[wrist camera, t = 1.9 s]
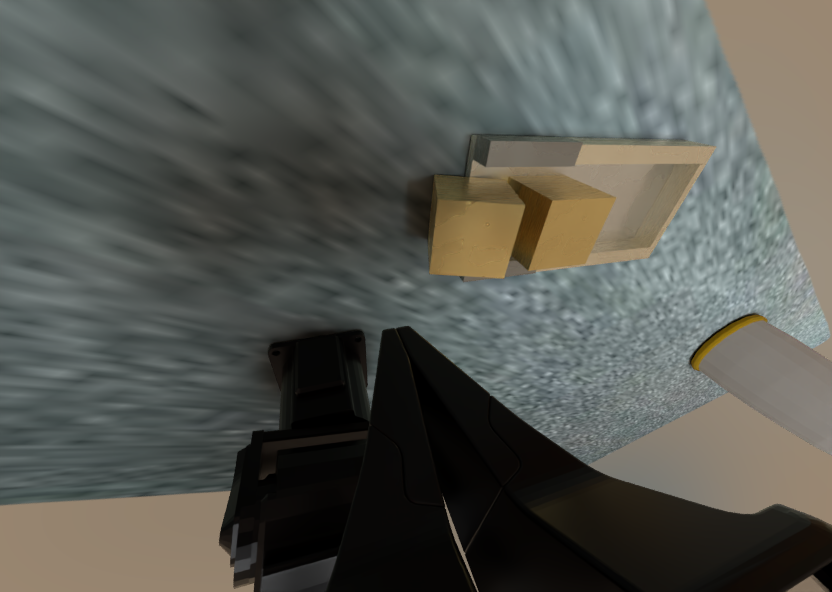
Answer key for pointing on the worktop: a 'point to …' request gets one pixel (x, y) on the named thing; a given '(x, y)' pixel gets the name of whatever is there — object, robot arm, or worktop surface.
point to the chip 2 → (557, 220)
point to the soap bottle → (773, 376)
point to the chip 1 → (472, 226)
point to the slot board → (601, 183)
